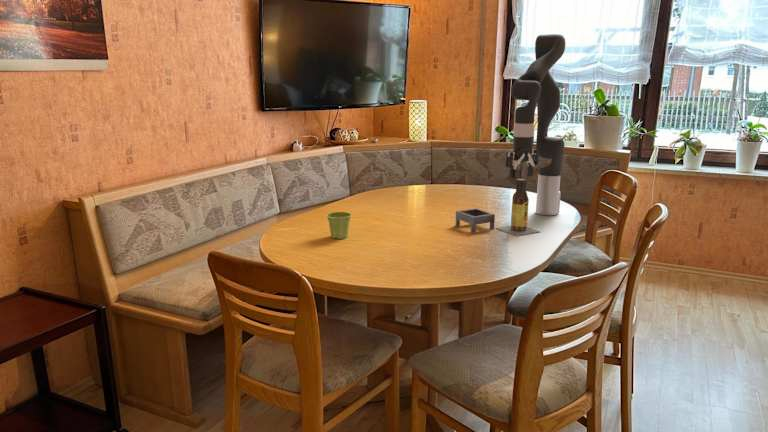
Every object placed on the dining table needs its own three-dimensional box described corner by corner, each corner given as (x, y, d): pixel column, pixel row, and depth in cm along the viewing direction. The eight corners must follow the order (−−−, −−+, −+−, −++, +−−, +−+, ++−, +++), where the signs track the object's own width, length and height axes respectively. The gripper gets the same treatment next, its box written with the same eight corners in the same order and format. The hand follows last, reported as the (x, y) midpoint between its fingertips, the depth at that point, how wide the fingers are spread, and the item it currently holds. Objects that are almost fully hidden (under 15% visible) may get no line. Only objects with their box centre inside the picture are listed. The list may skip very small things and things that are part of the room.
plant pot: (332, 241, 211) (332, 219, 209) (323, 235, 219) (322, 213, 217) (355, 238, 215) (355, 216, 213) (345, 232, 224) (345, 210, 221)
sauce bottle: (527, 232, 223) (530, 181, 218) (510, 231, 224) (513, 180, 219) (526, 227, 229) (529, 178, 224) (510, 226, 230) (513, 177, 225)
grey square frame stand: (475, 222, 238) (476, 208, 237) (494, 228, 228) (494, 214, 227) (455, 225, 233) (456, 211, 232) (473, 232, 224) (473, 217, 222)
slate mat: (519, 224, 234) (519, 224, 234) (540, 232, 224) (540, 231, 224) (496, 228, 229) (496, 227, 228) (516, 236, 218) (516, 235, 218)
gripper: (530, 132, 223) (528, 174, 228) (502, 135, 217) (500, 177, 221) (544, 134, 217) (542, 177, 221) (516, 137, 210) (513, 181, 215)
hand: (521, 177), depth 221 cm, fingers open, 8 cm apart
